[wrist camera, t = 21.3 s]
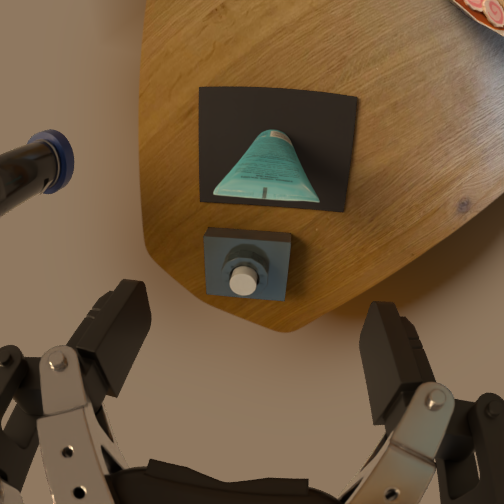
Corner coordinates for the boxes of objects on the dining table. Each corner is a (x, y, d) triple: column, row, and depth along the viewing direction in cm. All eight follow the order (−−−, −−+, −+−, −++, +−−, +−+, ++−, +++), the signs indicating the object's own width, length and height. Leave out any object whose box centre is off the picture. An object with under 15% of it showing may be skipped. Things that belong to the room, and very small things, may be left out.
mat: (200, 200, 43) (199, 201, 42) (199, 87, 35) (199, 87, 34) (342, 211, 41) (343, 212, 41) (356, 97, 33) (357, 97, 33)
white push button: (231, 285, 44) (229, 294, 42) (231, 264, 42) (229, 272, 40) (257, 288, 43) (255, 296, 42) (258, 266, 42) (256, 274, 40)
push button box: (210, 283, 49) (203, 302, 45) (208, 227, 44) (199, 242, 40) (284, 289, 49) (284, 309, 44) (290, 232, 44) (291, 249, 39)
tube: (245, 166, 39) (216, 226, 22) (243, 130, 37) (210, 162, 20) (302, 165, 38) (318, 226, 22) (302, 129, 36) (321, 160, 19)
